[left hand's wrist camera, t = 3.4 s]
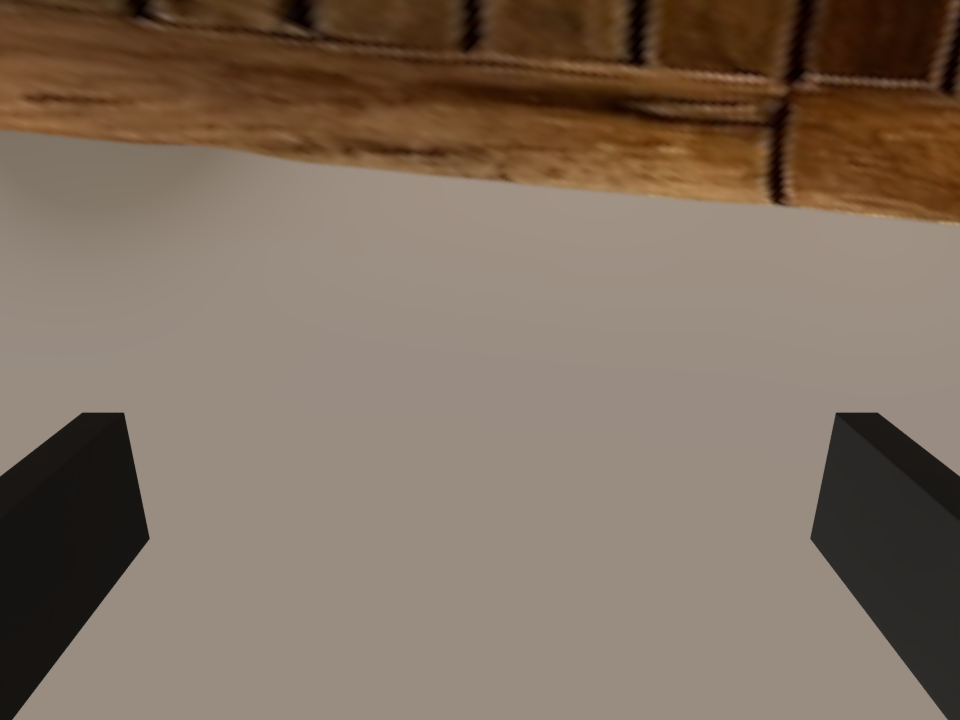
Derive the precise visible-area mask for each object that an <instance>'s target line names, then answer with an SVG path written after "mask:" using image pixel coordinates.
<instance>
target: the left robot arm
mask: <svg viewBox="0 0 960 720" xmlns="http://www.w3.org/2000/svg"><path fill="white" fill-rule="evenodd" d="M149 539H150V538H149V533H148V528H147V524H146V519H145V514H144V509H143V504H142V499H141V494H140V489H139V484H138V479H137V474H136V469H135V464H134V460H133V455H132V450H131V445H130V440H129V435H128V430H127V425H126V420H125V415H124V413H81V414H80V415H79V416H78V417H76V418H75V419H74V420H72V421H71V422H70V423H68V424H67V425H66V426H65V427H63V428H62V429H61V430H59V431H58V432H57V433H56V434H54V435H53V436H52V437H50V438H49V439H48V440H47V441H45V442H44V443H43V444H41V445H40V446H39V447H38V448H36V449H35V450H34V451H33V452H31V453H30V454H29V455H27V456H26V457H25V458H24V459H22V460H21V461H20V462H18V463H17V464H16V465H14V466H13V467H12V468H11V469H9V470H8V471H7V472H6V473H4V474H3V475H2V476H0V720H12V719H13V718H14V717H15V715H16V714H17V713H18V711H19V710H20V709H21V707H22V706H23V705H24V704H25V702H26V701H27V700H28V698H29V697H30V696H31V694H32V693H33V692H34V690H35V689H36V688H37V686H38V685H39V684H40V682H41V681H42V680H43V678H44V677H45V676H46V675H47V673H48V672H49V671H50V669H51V668H52V667H53V665H54V664H55V663H56V661H57V660H58V659H59V657H60V656H61V655H62V653H63V652H64V651H65V650H66V648H67V647H68V646H69V644H70V643H71V642H72V640H73V639H74V638H75V636H76V635H77V634H78V632H79V631H80V630H81V628H82V627H83V626H84V625H85V623H86V622H87V621H88V619H89V618H90V617H91V615H92V614H93V613H94V611H95V610H96V609H97V607H98V606H99V605H100V603H101V602H102V601H103V599H104V598H105V597H106V596H107V594H108V593H109V592H110V590H111V589H112V588H113V586H114V585H115V584H116V582H117V581H118V580H119V578H120V577H121V576H122V574H123V573H124V572H125V571H126V569H127V568H128V566H129V565H130V564H131V562H132V561H133V560H134V559H135V557H136V556H137V555H138V553H139V552H140V551H141V549H142V548H143V547H144V545H145V544H146V543H147V542H148V540H149ZM811 540H812V542H813V543H814V544H815V545H816V547H817V548H818V549H819V551H820V552H821V553H822V555H823V556H824V557H825V559H826V560H827V561H828V563H829V564H830V565H831V567H832V568H833V569H834V570H835V572H836V573H837V574H838V576H839V577H840V578H841V580H842V581H843V582H844V584H845V585H846V586H847V588H848V589H849V590H850V592H851V593H852V594H853V596H854V597H855V598H856V599H857V601H858V602H859V603H860V605H861V606H862V607H863V609H864V610H865V611H866V613H867V614H868V615H869V617H870V618H871V619H872V621H873V622H874V623H875V625H876V626H877V627H878V628H879V630H880V631H881V632H882V634H883V635H884V636H885V638H886V639H887V640H888V642H889V643H890V644H891V646H892V647H893V648H894V650H895V651H896V652H897V653H898V655H899V656H900V657H901V659H902V660H903V661H904V663H905V664H906V665H907V667H908V668H909V669H910V671H911V672H912V673H913V675H914V676H915V677H916V679H917V680H918V681H919V682H920V684H921V685H922V686H923V688H924V689H925V690H926V692H927V693H928V694H929V696H930V697H931V698H932V700H933V701H934V702H935V704H936V705H937V706H938V707H939V709H940V710H941V711H942V713H943V714H944V715H945V717H946V718H947V719H948V720H960V476H958V475H957V474H956V473H955V472H953V471H952V470H951V469H949V468H948V467H947V466H946V465H944V464H943V463H942V462H940V461H939V460H938V459H937V458H935V457H934V456H933V455H931V454H930V453H929V452H928V451H926V450H925V449H924V448H922V447H921V446H920V445H919V444H917V443H916V442H915V441H913V440H912V439H911V438H910V437H908V436H907V435H906V434H904V433H903V432H902V431H900V430H899V429H898V428H897V427H895V426H894V425H893V424H892V423H890V422H889V421H888V420H886V419H885V418H884V417H882V416H881V415H880V414H879V413H836V415H835V420H834V425H833V430H832V435H831V440H830V445H829V450H828V455H827V460H826V465H825V469H824V474H823V479H822V484H821V489H820V494H819V499H818V504H817V509H816V514H815V519H814V524H813V528H812V533H811Z"/></svg>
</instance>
